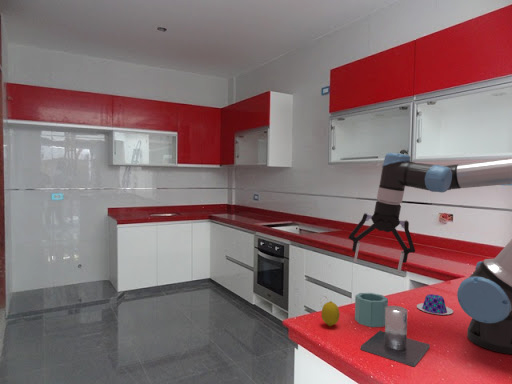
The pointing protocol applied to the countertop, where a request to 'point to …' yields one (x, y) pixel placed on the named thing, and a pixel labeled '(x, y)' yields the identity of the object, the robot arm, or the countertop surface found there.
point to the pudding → (434, 305)
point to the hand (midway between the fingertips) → (376, 266)
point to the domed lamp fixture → (396, 339)
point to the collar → (370, 309)
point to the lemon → (330, 313)
